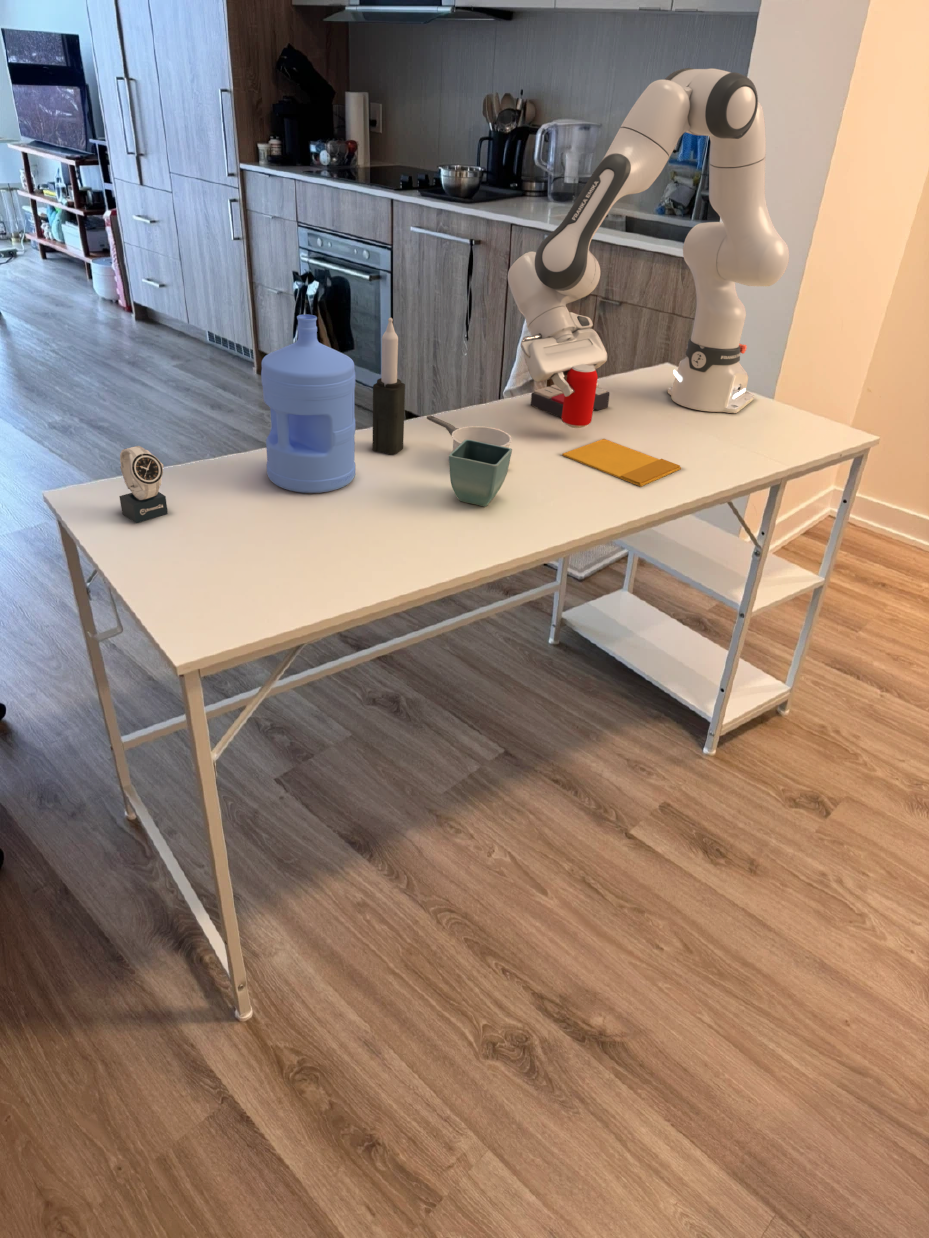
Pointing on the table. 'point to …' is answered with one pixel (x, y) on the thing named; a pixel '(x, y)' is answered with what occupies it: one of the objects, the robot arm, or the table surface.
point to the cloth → (622, 462)
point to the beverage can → (580, 396)
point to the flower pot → (478, 471)
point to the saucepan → (474, 434)
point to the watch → (142, 485)
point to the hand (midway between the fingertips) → (582, 391)
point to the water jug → (310, 414)
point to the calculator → (554, 399)
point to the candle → (388, 399)
